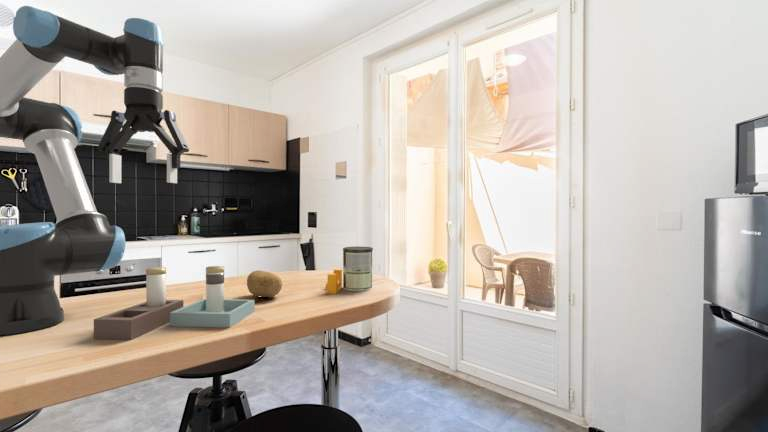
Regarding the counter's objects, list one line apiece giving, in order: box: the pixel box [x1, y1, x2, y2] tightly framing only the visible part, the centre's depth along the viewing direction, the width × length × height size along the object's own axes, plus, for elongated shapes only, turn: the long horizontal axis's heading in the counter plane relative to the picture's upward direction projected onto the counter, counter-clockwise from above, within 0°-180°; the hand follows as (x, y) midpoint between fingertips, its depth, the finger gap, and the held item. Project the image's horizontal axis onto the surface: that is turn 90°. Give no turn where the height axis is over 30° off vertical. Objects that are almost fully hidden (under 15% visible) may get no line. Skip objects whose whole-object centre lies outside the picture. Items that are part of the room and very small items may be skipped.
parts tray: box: [169, 298, 256, 329], centre depth 93 cm, size 14×14×3 cm
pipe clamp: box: [325, 268, 343, 295], centre depth 128 cm, size 12×4×6 cm, turn 176°
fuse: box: [145, 266, 167, 307], centre depth 91 cm, size 4×4×12 cm
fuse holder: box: [93, 299, 184, 341], centre depth 86 cm, size 8×18×4 cm, turn 177°
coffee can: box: [342, 246, 374, 292], centre depth 131 cm, size 10×10×14 cm
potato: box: [246, 270, 283, 299], centre depth 116 cm, size 10×14×8 cm
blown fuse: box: [205, 265, 225, 313], centre depth 93 cm, size 4×4×12 cm
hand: (143, 183), depth 87 cm, fingers open, 13 cm apart
